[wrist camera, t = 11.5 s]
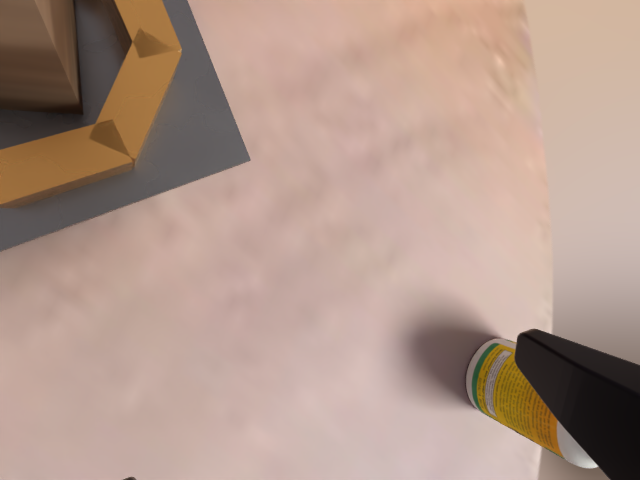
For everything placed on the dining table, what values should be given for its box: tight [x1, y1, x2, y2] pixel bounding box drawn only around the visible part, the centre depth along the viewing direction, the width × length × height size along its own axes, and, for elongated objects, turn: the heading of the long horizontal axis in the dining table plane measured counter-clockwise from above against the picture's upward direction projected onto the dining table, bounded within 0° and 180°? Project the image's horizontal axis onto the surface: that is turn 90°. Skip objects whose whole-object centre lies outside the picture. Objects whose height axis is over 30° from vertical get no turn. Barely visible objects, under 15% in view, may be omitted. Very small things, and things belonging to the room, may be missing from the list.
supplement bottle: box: [466, 339, 598, 468], centre depth 23 cm, size 5×5×10 cm
